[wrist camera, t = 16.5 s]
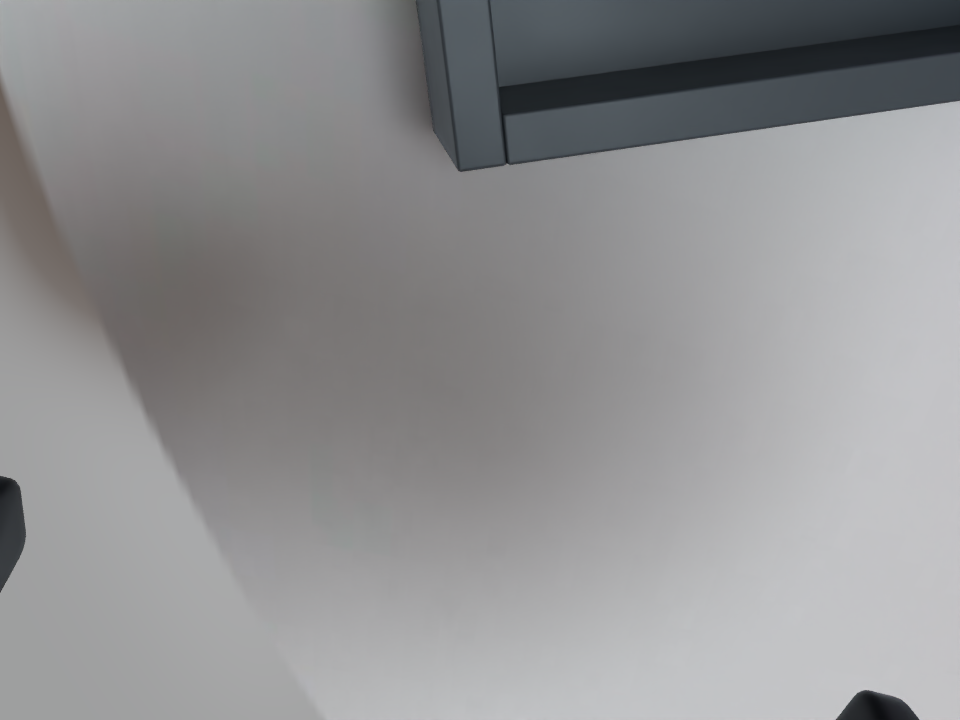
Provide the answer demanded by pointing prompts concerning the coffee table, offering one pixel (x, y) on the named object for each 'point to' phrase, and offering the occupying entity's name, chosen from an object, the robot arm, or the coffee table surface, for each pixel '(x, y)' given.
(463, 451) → the coffee table surface
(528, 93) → the open storage tray
